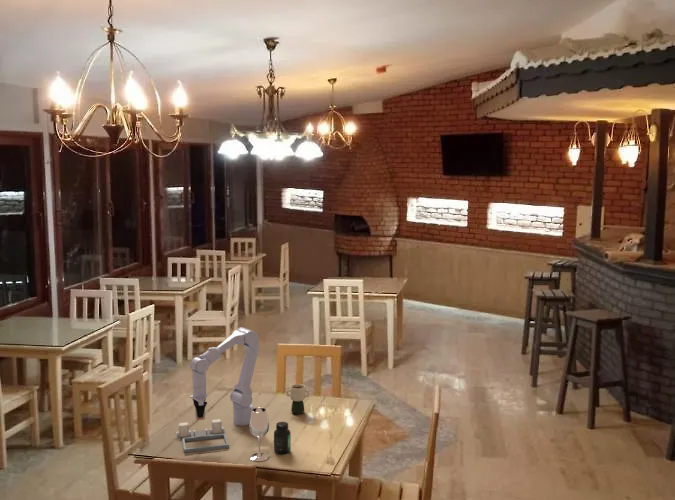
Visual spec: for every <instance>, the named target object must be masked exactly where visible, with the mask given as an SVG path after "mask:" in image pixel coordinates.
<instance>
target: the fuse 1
mask: <svg viewBox="0 0 675 500" xmlns="http://www.w3.org/2000/svg"><path fill="white" fill-rule="evenodd" d="M189 427H190V425H189V421H188V422H178V433H179V437H186V436H189V430H190V429H189Z"/></svg>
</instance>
